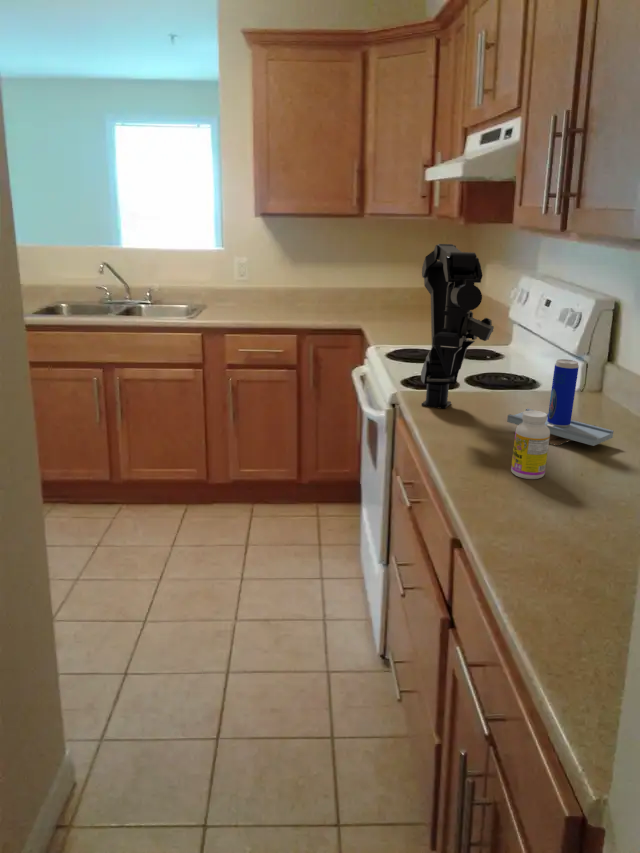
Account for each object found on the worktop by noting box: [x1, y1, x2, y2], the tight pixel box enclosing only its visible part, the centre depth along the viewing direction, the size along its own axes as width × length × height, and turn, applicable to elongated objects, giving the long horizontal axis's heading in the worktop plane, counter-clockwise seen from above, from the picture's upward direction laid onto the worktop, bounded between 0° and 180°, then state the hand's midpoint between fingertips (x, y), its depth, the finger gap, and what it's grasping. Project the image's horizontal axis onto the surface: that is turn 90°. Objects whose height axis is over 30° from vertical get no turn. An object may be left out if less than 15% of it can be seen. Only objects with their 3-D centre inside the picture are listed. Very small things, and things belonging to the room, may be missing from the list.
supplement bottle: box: [510, 409, 550, 480], centre depth 149 cm, size 7×7×13 cm
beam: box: [506, 408, 614, 447], centre depth 174 cm, size 22×9×2 cm, turn 44°
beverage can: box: [547, 358, 579, 427], centre depth 172 cm, size 5×5×15 cm
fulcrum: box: [549, 434, 571, 446], centre depth 175 cm, size 6×11×2 cm, turn 134°
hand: (453, 372), depth 180 cm, fingers open, 9 cm apart
